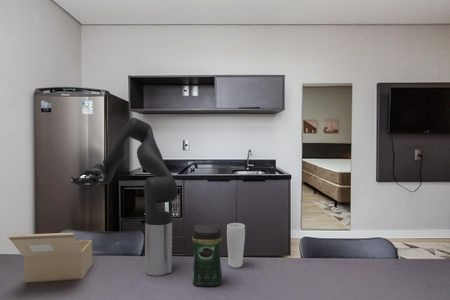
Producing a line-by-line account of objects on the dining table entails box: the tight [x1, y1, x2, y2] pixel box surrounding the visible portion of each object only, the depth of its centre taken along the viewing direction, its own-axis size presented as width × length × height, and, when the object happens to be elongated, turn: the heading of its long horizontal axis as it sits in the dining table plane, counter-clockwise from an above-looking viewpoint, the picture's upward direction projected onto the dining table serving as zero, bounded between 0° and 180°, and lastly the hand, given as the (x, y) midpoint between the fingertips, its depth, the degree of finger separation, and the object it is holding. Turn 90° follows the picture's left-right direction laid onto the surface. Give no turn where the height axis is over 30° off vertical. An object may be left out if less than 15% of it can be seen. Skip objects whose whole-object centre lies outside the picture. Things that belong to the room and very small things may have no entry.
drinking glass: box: [226, 222, 246, 269], centre depth 106 cm, size 7×7×15 cm
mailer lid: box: [8, 232, 82, 258], centre depth 87 cm, size 17×12×1 cm
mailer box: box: [23, 239, 93, 284], centre depth 98 cm, size 17×12×9 cm
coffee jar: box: [191, 224, 223, 287], centre depth 93 cm, size 10×8×19 cm
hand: (80, 182), depth 108 cm, fingers closed
